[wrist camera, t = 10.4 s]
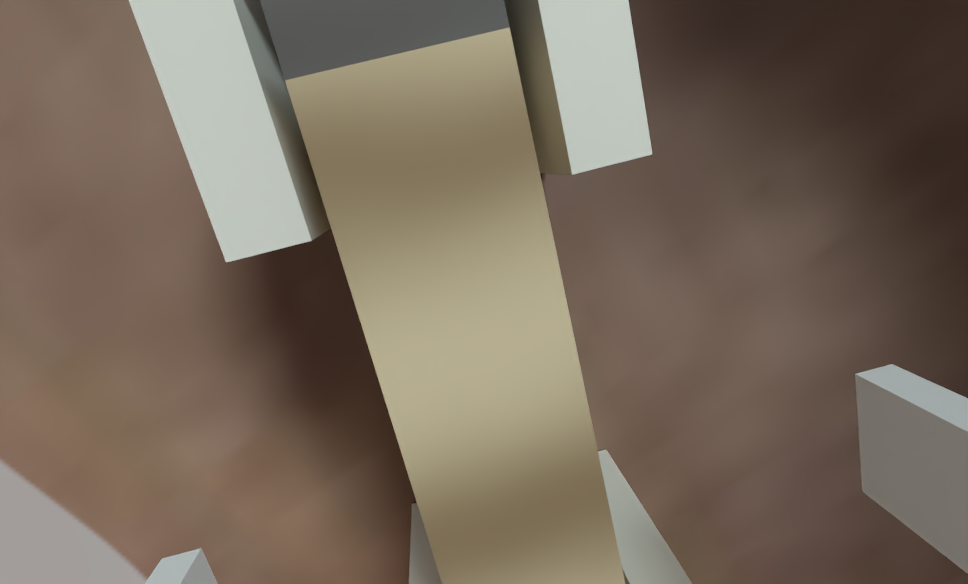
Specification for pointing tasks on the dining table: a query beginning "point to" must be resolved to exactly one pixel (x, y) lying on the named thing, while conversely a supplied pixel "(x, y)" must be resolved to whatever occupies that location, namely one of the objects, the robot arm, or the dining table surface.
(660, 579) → the post
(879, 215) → the dining table surface
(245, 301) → the dining table surface
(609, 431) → the dining table surface
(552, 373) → the rail
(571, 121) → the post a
